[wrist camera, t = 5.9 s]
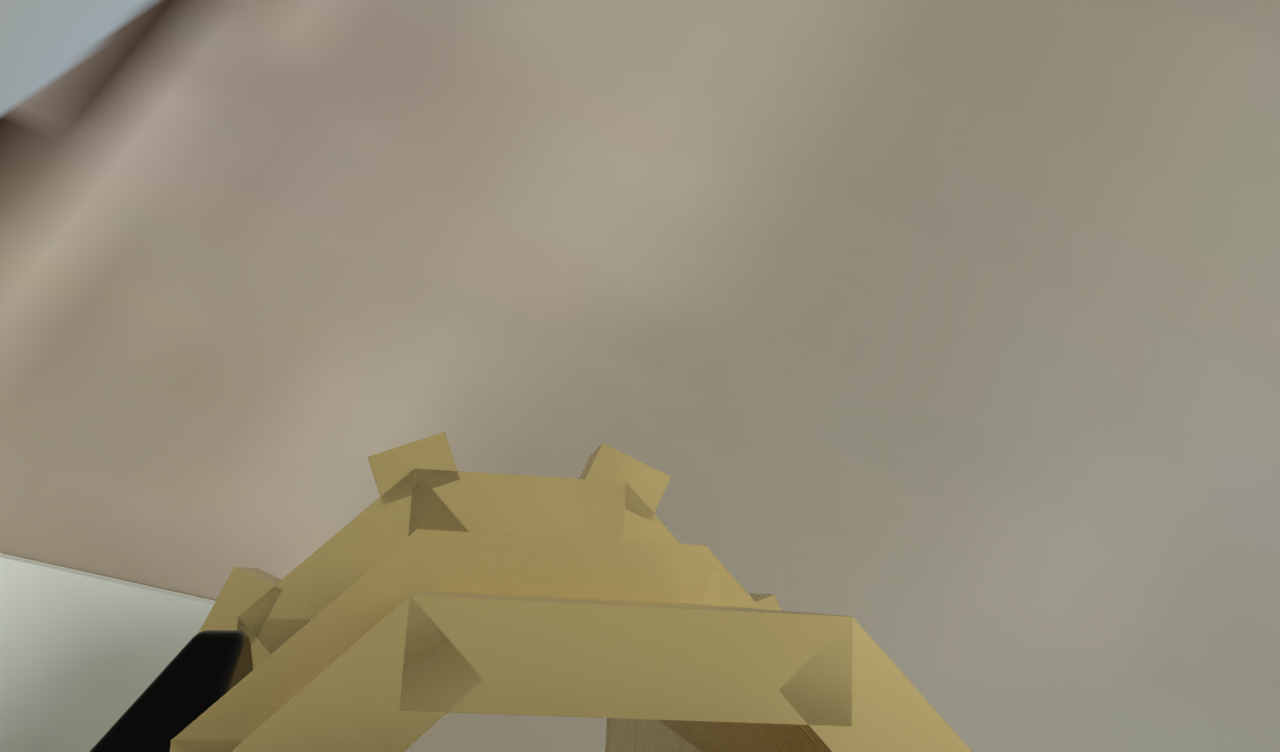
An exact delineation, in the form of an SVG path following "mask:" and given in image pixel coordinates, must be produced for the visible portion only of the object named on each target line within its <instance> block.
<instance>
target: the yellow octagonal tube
mask: <svg viewBox="0 0 1280 752" xmlns="http://www.w3.org/2000/svg"><path fill="white" fill-rule="evenodd" d="M368 460H369V463H370V466H371V469H372V472H373V475H374V479H375V482H376V485H377V488H378V491H379V494H380V498H379V499H377V500H376V501H375V502H374V503H373V504H371V505H370V506H369V507H368V508H367V509H365V510H364V511H363V512H362V513H361V514H360V515H358V516H357V517H356V518H355V519H354V520H352V521H351V522H350V523H349V524H348V525H346V526H345V527H344V528H343V529H342V530H341V531H339V532H338V533H337V534H336V535H335V536H333V537H332V538H331V539H330V540H329V541H327V542H326V543H325V544H324V545H323V546H321V547H320V548H319V549H318V550H317V551H316V552H314V553H313V554H312V555H311V556H310V557H308V558H307V559H306V560H305V561H304V562H302V563H301V564H300V565H299V566H298V567H297V568H295V569H294V570H293V571H292V572H291V573H289V574H288V575H287V576H286V577H285V578H283V579H282V580H280V579H278V578H276V577H274V576H272V575H270V574H268V573H266V572H263V571H261V570H259V569H256V568H244V567H235V568H234V570H233V571H232V573H231V575H230V577H229V579H228V580H227V582H226V584H225V586H224V588H223V589H222V591H221V593H220V595H219V596H218V598H217V600H216V602H215V604H214V605H213V607H212V609H211V611H210V613H209V614H208V616H207V618H206V620H205V622H204V623H203V625H202V627H201V629H200V631H199V632H198V633H200V632H202V631H205V630H240V631H243V632H245V633H246V634H247V635H248V637H249V639H250V644H251V652H252V661H253V671H251V672H250V673H249V674H248V675H247V676H246V677H244V678H243V679H242V680H241V681H240V682H239V683H237V684H236V685H235V686H234V687H233V688H232V689H230V690H229V691H228V692H227V693H226V694H225V695H223V696H222V697H221V698H220V699H219V700H218V701H216V702H215V703H214V704H213V705H212V706H211V707H209V708H208V709H207V710H206V711H205V712H204V713H202V714H201V715H200V716H199V717H198V718H197V719H195V720H194V721H193V722H192V723H191V724H190V725H189V726H187V727H186V728H185V729H184V730H183V731H182V732H180V733H179V734H178V735H177V736H176V737H175V738H173V739H171V746H170V752H405V751H406V750H407V749H408V748H409V747H410V746H411V745H412V744H413V743H414V742H416V741H417V740H418V739H419V738H420V737H421V736H422V735H423V734H424V733H425V732H426V731H428V730H429V729H430V728H431V727H432V726H433V725H434V724H435V723H436V722H437V721H438V720H439V719H441V718H442V717H443V716H444V715H445V714H446V713H476V714H505V715H535V716H564V717H593V718H607V728H606V747H605V752H972V751H971V750H970V749H969V748H968V746H967V745H966V744H965V743H964V742H963V741H962V740H961V739H960V737H959V736H958V735H957V734H956V733H955V732H954V731H953V730H952V728H951V727H950V726H949V725H948V724H947V723H946V722H945V720H944V719H943V718H942V717H941V716H940V715H939V714H938V713H937V711H936V710H935V709H934V708H933V707H932V706H931V705H930V704H929V702H928V701H927V700H926V699H925V698H924V697H923V696H922V695H921V693H920V692H919V691H918V690H917V689H916V688H915V687H914V686H913V684H912V683H911V682H910V681H909V680H908V679H907V678H906V677H905V675H904V674H903V673H902V672H901V671H900V670H899V669H898V667H897V666H896V665H895V664H894V663H893V662H892V661H891V660H890V658H889V657H888V656H887V655H886V654H885V653H884V652H883V651H882V649H881V648H880V647H879V646H878V645H877V644H876V643H875V642H874V640H873V639H872V638H871V637H870V636H869V635H868V634H867V633H866V631H865V630H864V629H863V628H862V627H861V626H860V625H859V624H858V622H857V621H856V620H855V619H854V618H853V617H852V616H840V615H828V614H816V613H803V612H791V611H781V610H780V607H779V604H778V601H777V599H776V596H775V594H748V593H747V592H746V591H745V590H744V589H743V587H742V586H741V585H740V584H739V583H738V582H737V581H736V580H735V578H734V577H733V576H732V575H731V574H730V573H729V572H728V570H727V569H726V568H725V567H724V566H723V565H722V564H721V563H720V561H719V560H718V559H717V558H716V557H715V556H714V555H713V553H712V552H711V551H710V550H709V549H708V548H707V547H706V546H705V545H686V544H680V542H679V541H678V540H677V539H676V538H675V537H674V536H673V534H672V533H671V532H670V531H669V530H668V529H667V528H666V527H665V525H664V524H663V523H662V522H661V521H660V520H659V519H658V517H657V516H656V515H655V514H654V513H655V511H656V509H657V506H658V504H659V502H660V500H661V498H662V496H663V494H664V491H665V489H666V487H667V485H668V483H669V481H670V478H671V477H670V476H668V475H666V474H664V473H662V472H660V471H658V470H656V469H654V468H652V467H650V466H648V465H646V464H644V463H642V462H640V461H638V460H636V459H634V458H632V457H630V456H628V455H626V454H624V453H622V452H620V451H618V450H616V449H614V448H612V447H610V446H608V445H606V444H603V443H602V444H601V445H600V446H599V448H598V449H597V450H596V451H595V452H594V453H593V454H592V455H591V456H590V458H589V460H588V462H587V464H586V466H585V468H584V470H583V473H582V475H581V477H580V479H569V478H554V477H539V476H523V475H508V474H492V473H477V472H461V471H457V468H456V465H455V462H454V459H453V456H452V453H451V450H450V447H449V444H448V441H447V438H446V435H445V432H443V433H440V434H437V435H434V436H431V437H428V438H425V439H422V440H419V441H416V442H412V443H409V444H406V445H403V446H400V447H397V448H394V449H391V450H388V451H385V452H382V453H379V454H375V455H372V456H369V457H368Z"/></svg>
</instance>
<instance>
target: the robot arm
mask: <svg viewBox="0 0 1280 752" xmlns="http://www.w3.org/2000/svg"><path fill="white" fill-rule="evenodd" d="M251 671H253V661H252V652H251V644H250V639H249V637H248V635H247V634H246V633H245V632H243V631H240V630H205V631H202V632H200V633H198V634H196V635H195V636H194V637H193V638H192V639H191V640H190V641H189V642H188V643H187V645H186V646H185V647H184V648H183V649H182V650H181V651H180V652H179V653H178V654H177V656H176V657H175V658H174V659H173V660H172V661H171V662H170V663H169V664H168V666H167V667H166V668H165V669H164V670H163V671H162V672H161V673H160V674H159V675H158V677H157V678H156V679H155V680H154V681H153V682H152V683H151V684H150V685H149V686H148V688H147V689H146V690H145V691H144V692H143V693H142V694H141V695H140V696H139V698H138V699H137V700H136V701H135V702H134V703H133V704H132V705H131V706H130V707H129V709H128V710H127V711H126V712H125V713H124V714H123V715H122V716H121V717H120V718H119V720H118V721H117V722H116V723H115V724H114V725H113V726H112V727H111V728H110V730H109V731H108V732H107V733H106V734H105V735H104V736H103V737H102V738H101V739H100V741H99V742H98V743H97V744H96V745H95V746H94V747H93V748H92V749H91V750H90V752H170V746H171V739H173V738H175V737H176V736H177V735H178V734H179V733H180V732H182V731H183V730H184V729H185V728H186V727H187V726H189V725H190V724H191V723H192V722H193V721H194V720H195V719H197V718H198V717H199V716H200V715H201V714H202V713H204V712H205V711H206V710H207V709H208V708H209V707H211V706H212V705H213V704H214V703H215V702H216V701H218V700H219V699H220V698H221V697H222V696H223V695H225V694H226V693H227V692H228V691H229V690H230V689H232V688H233V687H234V686H235V685H236V684H237V683H239V682H240V681H241V680H242V679H243V678H244V677H246V676H247V675H248V674H249V673H250V672H251Z"/></svg>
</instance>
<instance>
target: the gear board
mask: <svg viewBox="0 0 1280 752" xmlns="http://www.w3.org/2000/svg"><path fill="white" fill-rule="evenodd" d="M215 602H216V601H214V600H209V599H205V598H200V597H196V596H191V595H187V594H182V593H178V592H173V591H169V590H164V589H160V588H155V587H151V586H146V585H142V584H137V583H133V582H129V581H124V580H120V579H115V578H111V577H106V576H102V575H97V574H93V573H88V572H84V571H79V570H75V569H70V568H66V567H61V566H57V565H52V564H48V563H43V562H39V561H34V560H30V559H25V558H21V557H16V556H12V555H7V554H3V553H0V752H90V750H91V749H92V748H93V747H94V746H95V745H96V744H97V743H98V742H99V741H100V739H101V738H102V737H103V736H104V735H105V734H106V733H107V732H108V731H109V730H110V728H111V727H112V726H113V725H114V724H115V723H116V722H117V721H118V720H119V718H120V717H121V716H122V715H123V714H124V713H125V712H126V711H127V710H128V709H129V707H130V706H131V705H132V704H133V703H134V702H135V701H136V700H137V699H138V698H139V696H140V695H141V694H142V693H143V692H144V691H145V690H146V689H147V688H148V686H149V685H150V684H151V683H152V682H153V681H154V680H155V679H156V678H157V677H158V675H159V674H160V673H161V672H162V671H163V670H164V669H165V668H166V667H167V666H168V664H169V663H170V662H171V661H172V660H173V659H174V658H175V657H176V656H177V654H178V653H179V652H180V651H181V650H182V649H183V648H184V647H185V646H186V645H187V643H188V642H189V641H190V640H191V639H192V638H193V637H194V636H195V635H196V634H198V632H199V631H200V629H201V627H202V625H203V623H204V622H205V620H206V618H207V616H208V614H209V613H210V611H211V609H212V607H213V605H214V604H215Z"/></svg>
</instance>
